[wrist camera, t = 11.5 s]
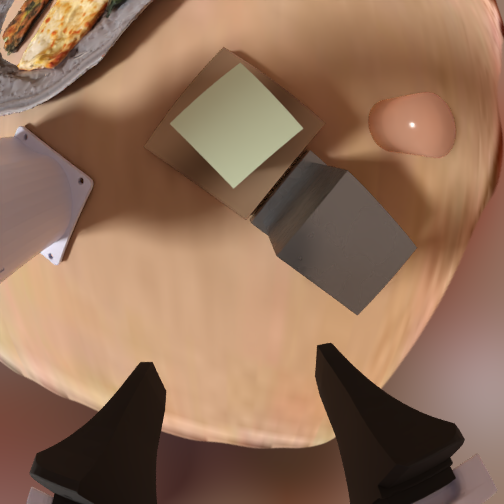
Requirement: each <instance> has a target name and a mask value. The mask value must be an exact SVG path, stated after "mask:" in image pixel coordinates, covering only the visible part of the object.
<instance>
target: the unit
mask: <svg viewBox="0 0 504 504" xmlns="http://www.w3.org/2000/svg"><path fill="white" fill-rule="evenodd" d="M250 221H251V223H252V224H253V225H254V226H256V227H257V228H259V229H260V230H261V231H263V232H264V233H265V234H267V235H268V236H269V238H270V241H271V243H272V246H273V248H274V251H275V253H276V256H277V257H279V258H280V259H281V260H283V261H284V262H286V263H287V264H288V265H290V266H291V267H292V268H294V269H295V270H296V271H298V272H299V273H301V274H302V275H303V276H305V277H306V278H307V279H309V280H310V281H311V282H313V283H314V284H316V285H317V286H318V287H320V288H321V289H322V290H324V291H325V292H326V293H328V294H329V295H331V296H332V297H333V298H335V299H336V300H337V301H339V302H340V303H341V304H343V305H344V306H345V307H347V308H348V309H349V310H351V311H352V312H353V313H355V314H356V315H358V314H359V313H360V312H361V311H362V310H363V309H364V308H365V307H366V306H367V305H368V304H369V303H370V302H371V301H372V300H373V299H374V298H375V296H376V295H377V294H378V293H379V292H380V291H381V290H382V289H383V288H384V287H385V285H386V284H387V283H388V282H389V281H390V280H391V279H392V277H393V276H394V275H395V274H396V273H397V272H398V270H399V269H400V268H401V267H402V266H403V264H404V263H405V262H406V261H407V260H408V258H409V257H410V256H411V255H412V253H413V252H414V251H415V250H416V248H417V247H416V246H415V244H414V243H413V242H412V241H411V239H410V238H409V237H408V236H407V234H406V233H405V232H404V231H403V230H402V228H401V227H400V226H399V225H398V224H397V223H396V221H395V220H394V219H393V218H392V217H391V216H390V214H389V213H388V212H387V211H386V210H385V209H384V208H383V207H382V206H381V204H380V203H379V202H378V201H377V200H376V199H375V198H374V197H373V196H372V195H371V194H370V193H369V192H368V190H367V189H366V188H365V187H364V186H363V185H362V184H361V183H360V182H359V181H358V180H357V179H356V178H355V177H354V176H353V175H352V174H351V173H350V172H349V171H348V170H344V169H340V168H336V167H331V166H327V165H326V164H325V163H324V162H323V161H322V160H321V159H320V158H318V157H317V156H316V155H315V154H314V153H313V152H312V151H311V150H306V152H305V153H304V154H303V155H302V156H301V158H300V159H299V160H298V161H297V163H296V164H295V165H294V166H293V167H292V169H291V170H290V171H289V172H288V173H287V175H286V176H285V177H284V178H283V180H282V181H281V182H280V183H279V184H278V186H277V187H276V188H275V189H274V191H273V192H272V193H271V194H270V195H269V197H268V198H267V199H266V200H265V202H264V203H263V204H262V205H261V207H260V208H259V209H258V210H257V212H256V213H255V214H254V215H253V217H252V218H251V219H250Z"/></svg>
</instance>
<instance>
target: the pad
mask: <svg viewBox="0 0 504 504" xmlns="http://www.w3.org/2000/svg"><path fill="white" fill-rule="evenodd" d="M239 63H241V64H242V65H244V66H245V67H246V68H247V69H248V70H249V71H250V72H251V73H252V74H253V75H254V76H255V77H256V78H257V79H258V80H259V81H260V82H261V83H262V84H263V85H264V86H265V87H266V88H267V89H268V90H269V91H270V92H271V93H272V94H273V95H274V96H275V98H276V99H277V100H278V101H279V102H280V103H281V104H282V105H283V106H284V107H285V108H286V109H287V111H288V112H289V113H290V114H291V115H292V116H293V117H294V118H295V120H296V121H297V122H298V123H299V124H300V125H301V126H302V128H303V129H302V130H301V131H300V132H298V133H297V134H296V135H295V136H294V137H292V138H291V139H290V140H289V141H288V142H286V143H285V144H284V145H283V146H282V147H280V148H279V149H278V150H277V151H276V152H275V153H273V154H272V155H271V156H270V157H269V158H268V159H266V160H265V161H264V162H263V163H262V164H261V165H260V166H258V167H257V168H256V169H255V170H254V171H253V172H252V173H251V174H249V175H248V176H247V177H246V178H245V179H244V180H243V181H242V182H240V183H239V184H238V185H237V186H236V187H235V188H234V189H233V188H232V187H231V185H230V184H229V183H228V182H227V181H226V180H225V179H224V178H223V177H222V176H221V175H220V174H219V173H218V172H217V171H216V170H215V169H214V168H213V167H212V166H211V165H210V164H209V163H208V162H207V161H206V160H205V159H204V158H203V157H202V156H201V155H200V154H199V153H198V152H197V150H196V149H195V148H194V147H193V146H192V145H191V144H190V143H189V142H188V141H187V140H186V139H185V138H184V137H183V136H182V135H181V134H180V133H179V132H178V131H177V130H176V129H175V128H174V127H173V126H172V125H170V123H171V122H172V121H173V120H174V119H175V118H176V117H177V116H178V115H179V114H180V113H181V112H182V111H183V110H184V109H186V108H187V107H188V106H189V105H190V104H191V103H192V102H193V101H194V100H195V99H197V98H198V97H199V96H200V95H201V94H202V93H203V92H204V91H206V90H207V89H208V88H209V87H210V86H212V85H213V84H214V83H215V82H216V81H218V80H219V79H220V78H221V77H222V76H224V75H225V74H226V73H227V72H229V71H230V70H231V69H233V68H234V67H235V66H236V65H238V64H239ZM324 125H325V122H324V121H322V120H321V119H320V118H319V117H318V116H317V115H316V114H314V113H313V112H312V111H311V110H310V109H309V108H307V107H306V106H305V105H304V104H303V103H301V102H300V101H299V100H298V99H296V98H295V97H294V96H293V95H291V94H290V93H289V92H288V91H286V90H285V89H284V88H283V87H281V86H280V85H279V84H277V83H276V82H275V81H273V80H272V79H271V78H269V77H268V76H266V75H265V74H264V73H262V72H261V71H259V70H258V69H256V68H255V67H254V66H252V65H251V64H249V63H248V62H246V61H245V60H243V59H242V58H240V57H239V56H237V55H235V54H234V53H232V52H231V51H229V50H228V49H226V48H224V47H223V48H222V49H221V50H220V51H219V52H218V53H217V55H216V56H215V57H214V58H213V59H212V60H211V61H210V62H209V63H208V64H207V65H206V66H205V68H204V69H203V70H202V71H201V72H200V73H199V74H198V76H197V77H196V78H195V79H194V80H193V81H192V83H191V84H190V85H189V86H188V87H187V89H186V90H185V91H184V92H183V94H182V95H181V96H180V97H179V99H178V100H177V101H176V102H175V104H174V105H173V106H172V108H171V109H170V110H169V112H168V113H167V114H166V116H165V117H164V118H163V120H162V121H161V123H160V124H159V125H158V127H157V128H156V130H155V131H154V132H153V134H152V135H151V137H150V138H149V140H148V141H147V143H146V144H145V146H144V148H146V149H147V150H148V151H150V152H151V153H153V154H154V155H156V156H157V157H159V158H160V159H161V160H163V161H164V162H166V163H167V164H169V165H170V166H171V167H173V168H174V169H176V170H177V171H179V172H180V173H181V174H183V175H184V176H186V177H187V178H188V179H190V180H191V181H193V182H194V183H196V184H197V185H198V186H200V187H201V188H203V189H204V190H205V191H207V192H208V193H209V194H211V195H212V196H214V197H215V198H216V199H218V200H219V201H221V202H222V203H223V204H225V205H226V206H228V207H229V208H230V209H232V210H233V211H234V212H236V213H237V214H239V215H240V216H241V217H243V218H244V219H245V220H246V219H247V218H248V217H249V216H250V214H251V213H252V212H253V211H254V209H255V208H256V207H257V206H258V204H259V203H260V202H261V201H262V199H263V198H264V197H265V196H266V195H267V193H268V192H269V191H270V190H271V188H272V187H273V186H274V185H275V183H276V182H277V181H278V180H279V179H280V177H281V176H282V175H283V174H284V172H285V171H286V170H287V169H288V168H289V166H290V165H291V164H292V163H293V162H294V160H295V159H296V158H297V157H298V156H299V154H300V153H301V152H302V151H303V149H304V148H305V147H306V146H307V145H308V144H309V142H310V141H311V140H312V139H313V138H314V136H315V135H316V134H317V133H318V132H319V130H320V129H321V128H322V127H323V126H324Z"/></svg>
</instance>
